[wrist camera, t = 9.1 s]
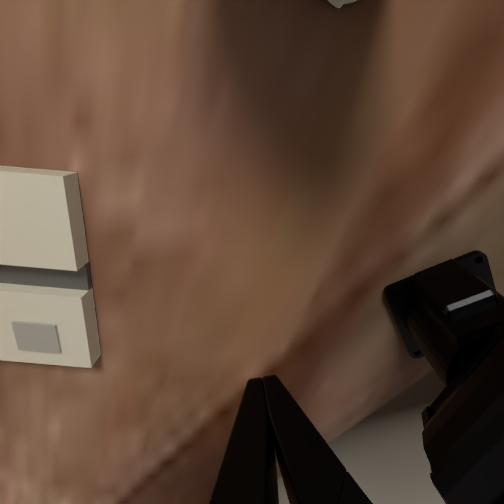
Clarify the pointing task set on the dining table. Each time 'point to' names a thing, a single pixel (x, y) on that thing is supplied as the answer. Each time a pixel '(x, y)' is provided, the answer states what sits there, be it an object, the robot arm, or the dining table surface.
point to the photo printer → (340, 2)
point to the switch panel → (45, 271)
